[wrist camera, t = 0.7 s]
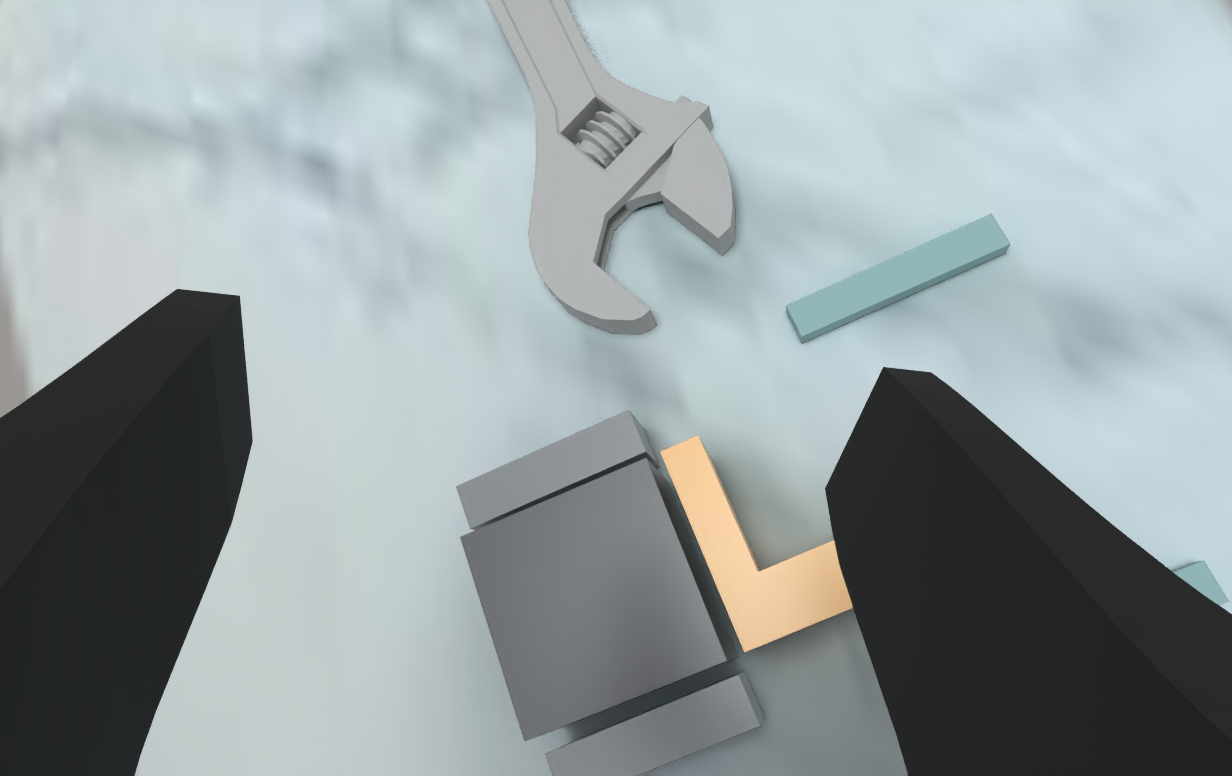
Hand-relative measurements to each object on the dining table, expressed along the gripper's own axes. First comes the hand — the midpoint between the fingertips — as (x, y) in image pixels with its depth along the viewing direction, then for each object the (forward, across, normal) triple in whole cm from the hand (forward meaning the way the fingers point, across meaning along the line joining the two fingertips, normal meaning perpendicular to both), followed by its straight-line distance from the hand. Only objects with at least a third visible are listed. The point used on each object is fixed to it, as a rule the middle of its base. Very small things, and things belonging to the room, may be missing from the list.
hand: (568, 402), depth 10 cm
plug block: (+7, -4, +13) cm, 15 cm away
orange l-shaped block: (+7, -7, +10) cm, 14 cm away
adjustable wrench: (+24, -1, +3) cm, 24 cm away
